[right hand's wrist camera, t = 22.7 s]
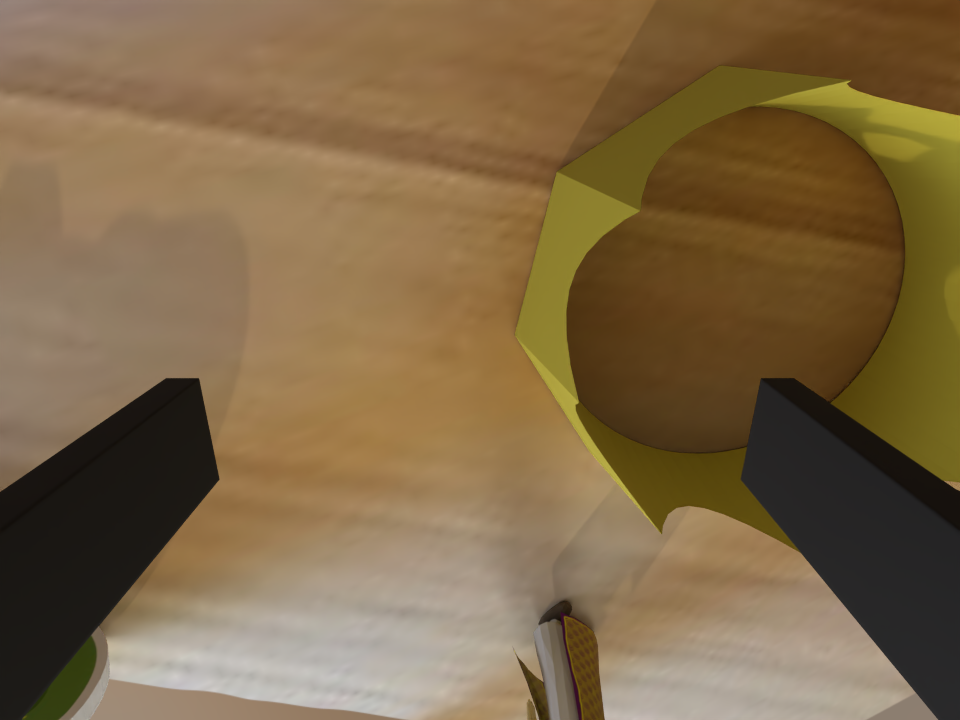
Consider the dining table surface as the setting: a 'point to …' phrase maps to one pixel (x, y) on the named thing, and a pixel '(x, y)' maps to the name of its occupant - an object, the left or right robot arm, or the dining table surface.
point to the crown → (899, 357)
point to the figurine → (565, 669)
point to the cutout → (76, 684)
